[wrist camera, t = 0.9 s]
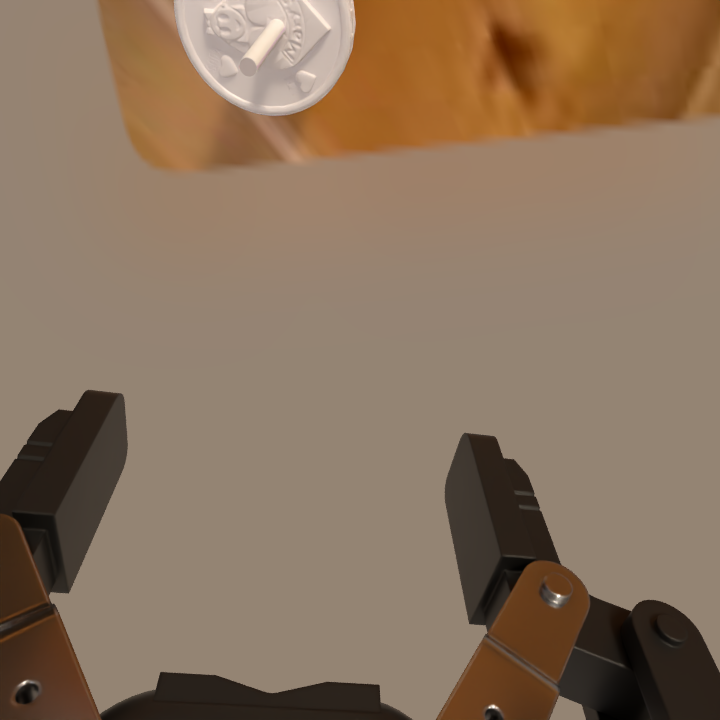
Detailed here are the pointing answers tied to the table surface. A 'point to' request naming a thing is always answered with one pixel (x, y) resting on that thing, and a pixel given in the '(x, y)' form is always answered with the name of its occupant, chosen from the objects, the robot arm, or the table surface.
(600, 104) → the table surface
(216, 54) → the smoothie
